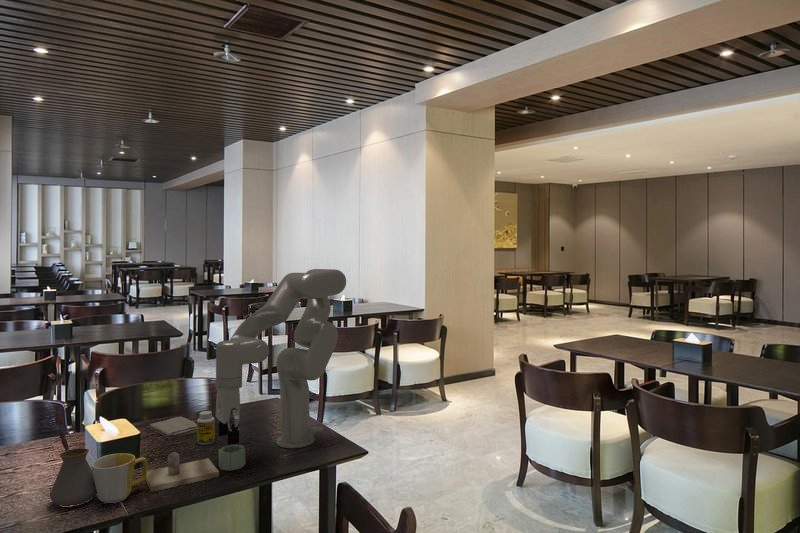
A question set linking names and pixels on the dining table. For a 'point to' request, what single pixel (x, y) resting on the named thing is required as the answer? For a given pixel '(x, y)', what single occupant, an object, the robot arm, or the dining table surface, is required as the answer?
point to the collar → (231, 457)
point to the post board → (180, 473)
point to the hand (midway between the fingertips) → (228, 439)
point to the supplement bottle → (205, 428)
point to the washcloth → (174, 427)
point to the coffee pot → (73, 477)
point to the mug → (116, 476)
